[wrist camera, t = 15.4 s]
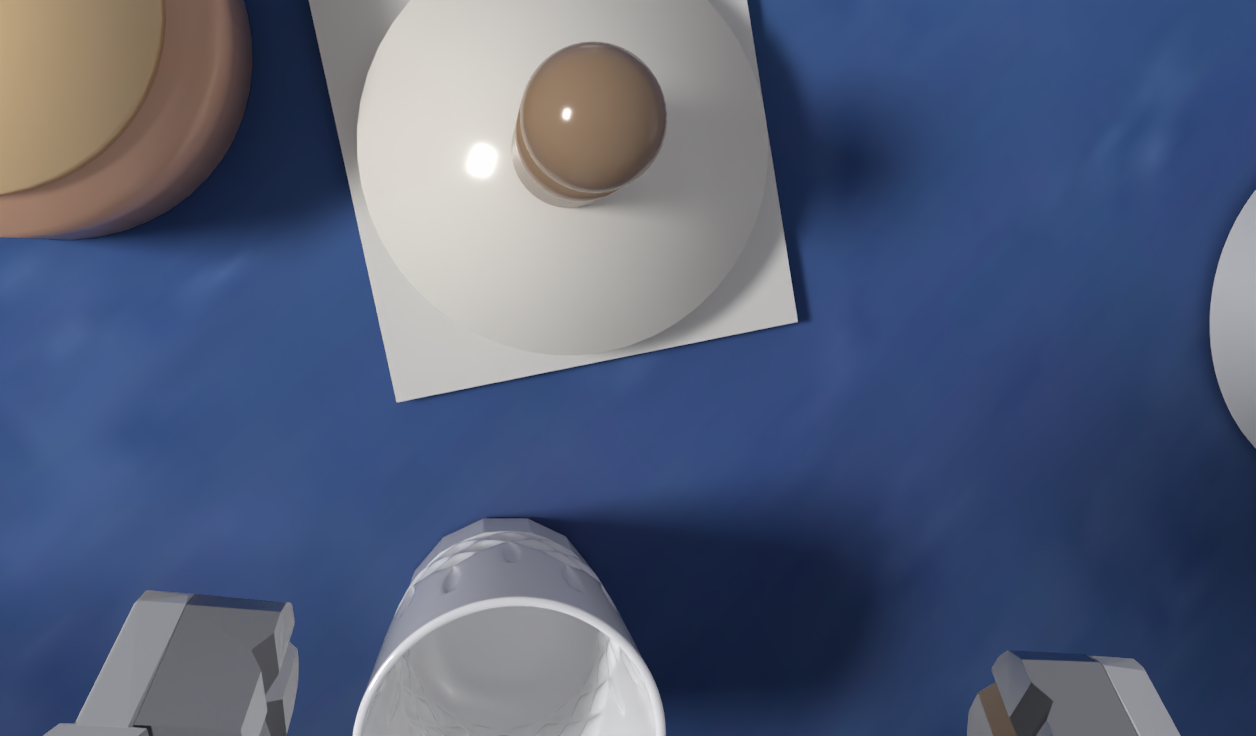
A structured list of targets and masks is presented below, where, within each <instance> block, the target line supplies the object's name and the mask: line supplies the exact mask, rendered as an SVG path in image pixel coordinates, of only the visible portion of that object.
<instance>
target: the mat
mask: <svg viewBox="0 0 1256 736" xmlns="http://www.w3.org/2000/svg"><path fill="white" fill-rule="evenodd" d="M409 1H410V0H309V4H310V9H311V13H312V18H313V22H314V27H315V32H316V36H317V41H318V45H319V50H320V54H321V59H322V64H323V68H324V73H325V77H326V82H327V86H328V91H329V96H330V100H331V105H332V109H333V114H334V118H335V123H336V128H337V132H338V137H339V141H340V146H341V150H342V155H343V159H344V164H345V169H346V173H347V178H348V182H349V187H350V191H351V196H352V201H353V205H354V210H355V214H356V219H357V223H358V228H359V233H360V237H361V242H362V246H363V251H364V255H365V260H366V265H367V269H368V274H369V278H370V283H371V287H372V292H373V297H374V301H375V306H376V310H377V315H378V319H379V324H380V328H381V333H382V338H383V342H384V347H385V351H386V356H387V360H388V365H389V370H390V374H391V379H392V383H393V388H394V392H395V397H396V402H402V401H407V400H412V399H417V398H422V397H427V396H432V395H437V394H442V393H447V392H452V391H457V390H462V389H467V388H472V387H477V386H481V385H486V384H491V383H496V382H501V381H506V380H511V379H516V378H521V377H526V376H531V375H536V374H541V373H546V372H551V371H556V370H561V369H566V368H571V367H576V366H581V365H586V364H591V363H596V362H601V361H606V360H611V359H616V358H621V357H626V356H631V355H636V354H641V353H646V352H651V351H656V350H661V349H666V348H671V347H676V346H681V345H686V344H691V343H696V342H701V341H706V340H711V339H716V338H721V337H726V336H730V335H735V334H740V333H745V332H750V331H755V330H760V329H765V328H770V327H775V326H780V325H785V324H790V323H795V322H798V319H797V312H796V306H795V300H794V293H793V287H792V281H791V275H790V268H789V262H788V256H787V249H786V243H785V237H784V230H783V224H782V218H781V212H780V205H779V199H778V193H777V186H776V180H775V174H774V167H773V161H772V155H771V149H770V142H769V136H768V130H767V138H768V161H767V175H766V181H765V188H764V194H763V199H762V202H761V206H760V209H759V213H758V216H757V219H756V223H755V225H754V227H753V230H752V232H751V234H750V236H749V239H748V241H747V243H746V246H745V247H744V249H743V251H742V252H741V254H740V256H739V258H738V259H737V261H736V263H735V264H734V266H733V268H732V269H731V270H730V272H729V273H728V274H727V276H726V277H725V278H724V279H723V281H722V282H721V283H720V284H719V286H718V287H717V288H716V289H715V290H714V291H713V292H712V293H711V294H710V295H709V296H708V297H707V298H706V299H705V300H704V301H703V302H702V303H701V304H700V305H699V306H698V307H697V308H696V309H694V310H693V311H692V312H690V313H689V314H688V315H686V316H685V317H684V318H683V319H681V320H680V321H679V322H677V323H675V324H674V325H672V326H670V327H668V328H667V329H665V330H663V331H662V332H660V333H658V334H656V335H654V336H652V337H650V338H647V339H645V340H642V341H640V342H637V343H635V344H632V345H630V346H626V347H622V348H618V349H614V350H611V351H607V352H600V353H593V354H585V355H549V354H542V353H534V352H527V351H523V350H520V349H516V348H512V347H508V346H505V345H501V344H499V343H496V342H494V341H492V340H489V339H487V338H484V337H482V336H479V335H477V334H475V333H473V332H472V331H470V330H468V329H466V328H465V327H463V326H461V325H460V324H458V323H456V322H454V321H453V320H451V319H450V318H449V317H447V316H446V315H445V314H443V313H442V312H441V311H440V310H438V309H437V308H436V307H434V306H433V305H432V304H431V303H430V302H429V301H428V300H426V299H425V298H424V297H423V296H422V295H421V294H420V293H419V292H418V291H417V290H416V289H415V288H414V287H413V286H412V285H411V283H410V282H409V281H408V280H407V278H406V277H405V276H404V274H403V273H402V272H401V271H400V269H399V268H398V267H397V265H396V264H395V263H394V261H393V260H392V258H391V256H390V255H389V253H388V251H387V249H386V248H385V246H384V244H383V243H382V241H381V239H380V237H379V235H378V233H377V230H376V228H375V226H374V223H373V221H372V219H371V216H370V214H369V211H368V207H367V204H366V200H365V197H364V193H363V190H362V186H361V180H360V173H359V166H358V159H357V124H358V116H359V108H360V100H361V96H362V93H363V89H364V85H365V81H366V77H367V74H368V71H369V69H370V66H371V64H372V61H373V59H374V57H375V54H376V52H377V49H378V47H379V45H380V44H381V42H382V40H383V38H384V37H385V35H386V33H387V32H388V30H389V28H390V26H391V25H392V23H393V22H394V21H395V19H396V18H397V17H398V15H399V14H400V13H401V12H402V10H403V9H404V8H405V7H406V5H407V4H408V3H409ZM707 1H708V2H709V3H710V4H711V5H712V6H713V7H714V9H715V10H716V11H717V12H718V13H719V14H720V15H721V17H722V18H723V19H724V20H725V22H726V23H727V25H728V26H729V28H730V29H731V31H732V32H733V34H734V35H735V37H736V38H737V40H738V41H739V43H740V45H741V47H742V49H743V51H744V53H745V55H746V57H747V59H748V61H749V63H750V65H751V68H752V71H753V73H754V76H755V79H756V82H757V85H758V87H759V90H760V94H761V99H762V103H763V98H762V92H761V85H760V79H759V73H758V67H757V60H756V54H755V48H754V41H753V35H752V29H751V22H750V16H749V10H748V4H747V0H707ZM763 108H764V104H763ZM764 112H765V111H764ZM766 127H767V123H766Z"/></svg>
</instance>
